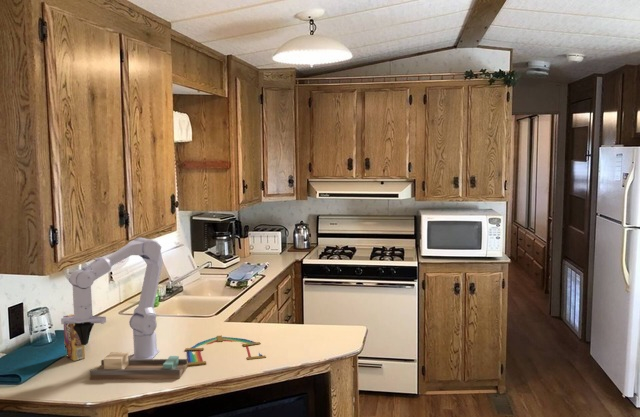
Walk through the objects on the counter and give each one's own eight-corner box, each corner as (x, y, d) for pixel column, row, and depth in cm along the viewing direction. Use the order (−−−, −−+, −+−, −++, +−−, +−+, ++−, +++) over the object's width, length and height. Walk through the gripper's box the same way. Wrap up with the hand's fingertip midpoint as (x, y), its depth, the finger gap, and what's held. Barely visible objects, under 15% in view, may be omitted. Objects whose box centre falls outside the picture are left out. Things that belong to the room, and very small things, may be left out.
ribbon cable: (184, 340, 218) (185, 367, 189) (183, 338, 218) (185, 364, 189) (255, 334, 226) (267, 358, 197) (255, 332, 226) (267, 356, 197)
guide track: (102, 367, 189) (102, 355, 189) (187, 367, 189) (187, 354, 188) (90, 379, 179) (89, 366, 179) (179, 378, 179) (179, 365, 178)
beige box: (111, 365, 187) (110, 352, 187) (128, 364, 187) (128, 352, 187) (104, 371, 181) (103, 358, 181) (121, 371, 181) (121, 358, 181)
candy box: (86, 358, 199) (84, 317, 198) (74, 361, 196) (72, 320, 195) (76, 352, 205) (73, 313, 204) (64, 355, 202) (62, 316, 201)
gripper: (55, 308, 178) (57, 348, 180) (98, 307, 178) (101, 347, 179) (66, 302, 185) (68, 341, 187) (107, 302, 185) (109, 340, 186)
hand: (84, 344), depth 183 cm, fingers closed
